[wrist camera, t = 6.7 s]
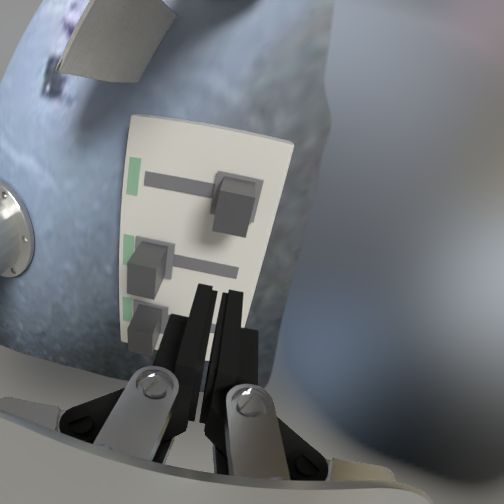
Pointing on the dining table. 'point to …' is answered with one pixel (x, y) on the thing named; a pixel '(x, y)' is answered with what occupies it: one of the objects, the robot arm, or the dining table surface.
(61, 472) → the robot arm
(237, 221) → the block
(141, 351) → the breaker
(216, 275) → the panel
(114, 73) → the white printed box
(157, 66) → the dining table surface
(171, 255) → the block
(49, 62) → the dining table surface
